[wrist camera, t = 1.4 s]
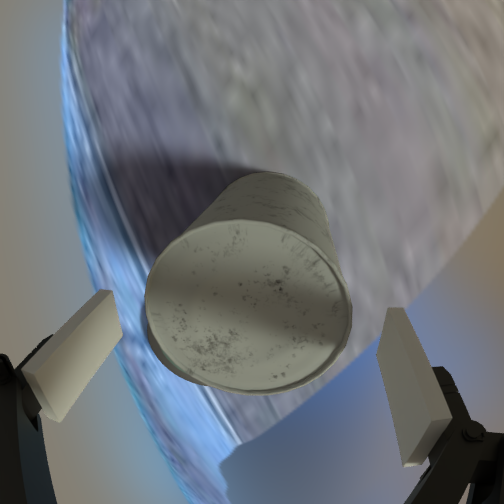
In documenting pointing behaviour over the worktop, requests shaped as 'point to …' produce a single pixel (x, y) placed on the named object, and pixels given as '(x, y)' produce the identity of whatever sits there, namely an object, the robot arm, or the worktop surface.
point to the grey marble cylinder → (252, 290)
